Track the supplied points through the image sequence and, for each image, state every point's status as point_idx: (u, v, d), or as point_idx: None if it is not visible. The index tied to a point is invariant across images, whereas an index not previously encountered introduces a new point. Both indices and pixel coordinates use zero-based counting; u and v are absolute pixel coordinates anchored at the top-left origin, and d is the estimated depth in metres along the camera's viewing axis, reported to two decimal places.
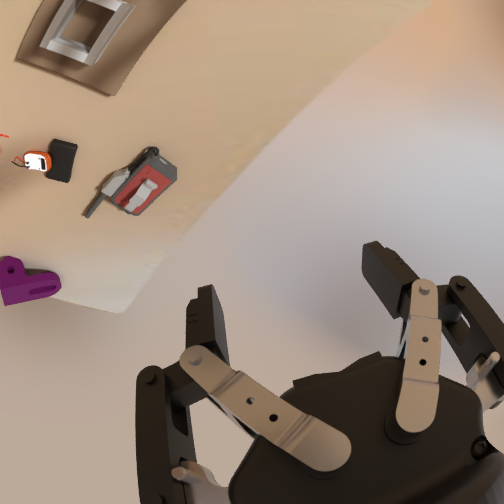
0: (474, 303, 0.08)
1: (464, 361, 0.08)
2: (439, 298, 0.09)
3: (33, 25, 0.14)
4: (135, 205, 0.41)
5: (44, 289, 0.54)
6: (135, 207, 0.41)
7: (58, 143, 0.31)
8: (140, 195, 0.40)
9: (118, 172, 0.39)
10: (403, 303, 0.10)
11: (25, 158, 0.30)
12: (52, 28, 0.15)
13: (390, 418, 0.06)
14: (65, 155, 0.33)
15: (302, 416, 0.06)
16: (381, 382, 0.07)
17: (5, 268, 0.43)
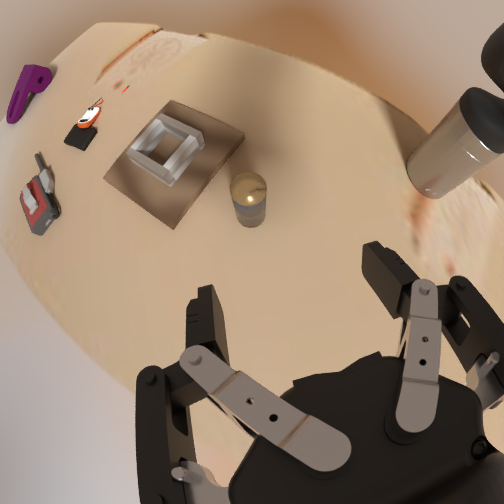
0: (474, 303, 0.08)
1: (464, 361, 0.08)
2: (439, 298, 0.09)
3: (189, 111, 0.40)
4: (24, 194, 0.36)
5: (13, 106, 0.44)
6: (23, 194, 0.36)
7: (91, 134, 0.41)
8: (29, 199, 0.36)
9: (51, 184, 0.40)
10: (403, 303, 0.10)
11: (96, 107, 0.43)
12: (170, 121, 0.36)
13: (390, 418, 0.06)
14: (81, 139, 0.41)
15: (302, 416, 0.06)
16: (381, 382, 0.07)
17: (44, 75, 0.44)
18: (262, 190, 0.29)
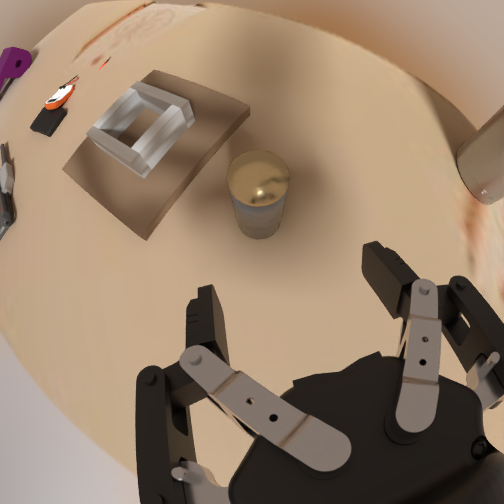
0: (474, 303, 0.08)
1: (464, 361, 0.08)
2: (439, 298, 0.09)
3: (176, 80, 0.28)
4: None
5: None
6: None
7: (59, 116, 0.29)
8: None
9: (10, 182, 0.27)
10: (403, 303, 0.10)
11: (69, 85, 0.30)
12: (147, 89, 0.24)
13: (390, 418, 0.06)
14: (47, 123, 0.29)
15: (302, 416, 0.06)
16: (381, 382, 0.07)
17: (23, 59, 0.32)
18: (282, 180, 0.17)
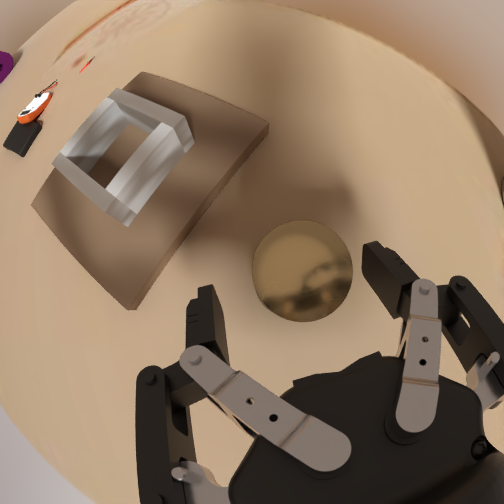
0: (474, 303, 0.08)
1: (464, 361, 0.08)
2: (439, 298, 0.09)
3: (170, 85, 0.22)
4: None
5: None
6: None
7: (33, 132, 0.23)
8: None
9: None
10: (403, 303, 0.10)
11: (46, 93, 0.24)
12: (129, 99, 0.17)
13: (390, 418, 0.06)
14: (20, 141, 0.22)
15: (302, 416, 0.06)
16: (381, 382, 0.07)
17: (4, 62, 0.26)
18: (342, 279, 0.10)
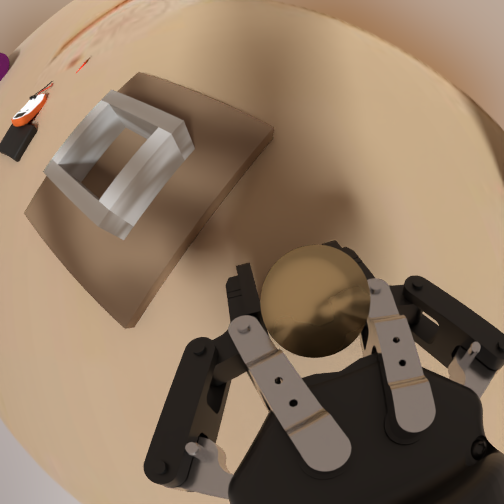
0: (437, 300, 0.09)
1: (439, 356, 0.09)
2: None
3: (168, 86, 0.20)
4: None
5: None
6: None
7: (27, 135, 0.21)
8: None
9: None
10: None
11: (41, 94, 0.23)
12: (124, 102, 0.16)
13: (390, 418, 0.06)
14: (14, 144, 0.21)
15: (319, 410, 0.06)
16: (381, 382, 0.07)
17: (0, 63, 0.25)
18: (359, 309, 0.09)
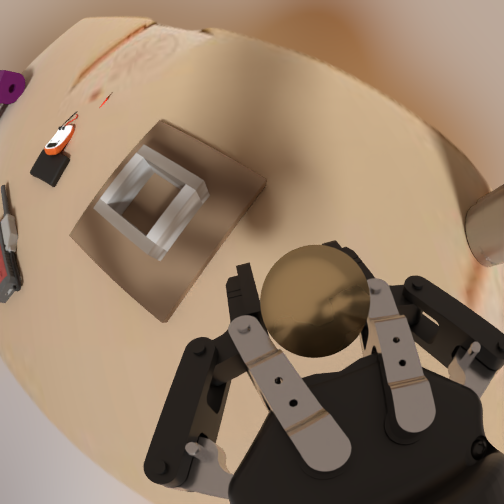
0: (437, 300, 0.09)
1: (439, 356, 0.09)
2: None
3: (186, 138, 0.29)
4: None
5: None
6: None
7: (62, 164, 0.30)
8: None
9: (13, 238, 0.28)
10: None
11: (69, 126, 0.31)
12: (156, 158, 0.25)
13: (390, 418, 0.06)
14: (49, 171, 0.29)
15: (319, 410, 0.06)
16: (381, 382, 0.07)
17: (16, 83, 0.33)
18: (359, 310, 0.09)
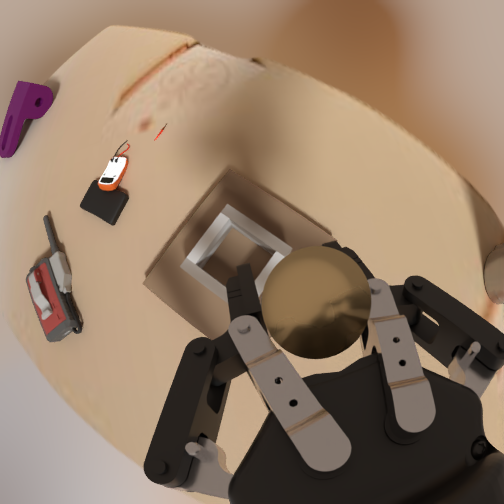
0: (437, 300, 0.09)
1: (439, 356, 0.09)
2: None
3: (260, 193, 0.33)
4: (32, 286, 0.29)
5: (6, 135, 0.37)
6: (30, 285, 0.29)
7: (122, 202, 0.34)
8: (39, 297, 0.29)
9: (67, 279, 0.32)
10: None
11: (122, 158, 0.35)
12: (243, 221, 0.28)
13: (390, 418, 0.06)
14: (106, 209, 0.34)
15: (319, 410, 0.06)
16: (381, 382, 0.07)
17: (43, 96, 0.37)
18: (360, 311, 0.09)
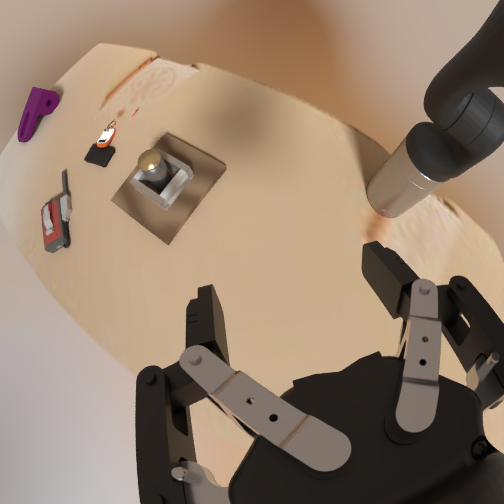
0: (474, 303, 0.08)
1: (464, 361, 0.08)
2: (439, 298, 0.09)
3: (181, 144, 0.50)
4: (44, 213, 0.46)
5: (24, 126, 0.54)
6: (44, 212, 0.46)
7: (111, 153, 0.51)
8: (47, 220, 0.46)
9: (68, 212, 0.49)
10: (403, 303, 0.10)
11: (111, 129, 0.53)
12: (165, 155, 0.46)
13: (390, 418, 0.06)
14: (101, 158, 0.51)
15: (302, 416, 0.06)
16: (381, 382, 0.07)
17: (52, 99, 0.54)
18: (156, 161, 0.40)
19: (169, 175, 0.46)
